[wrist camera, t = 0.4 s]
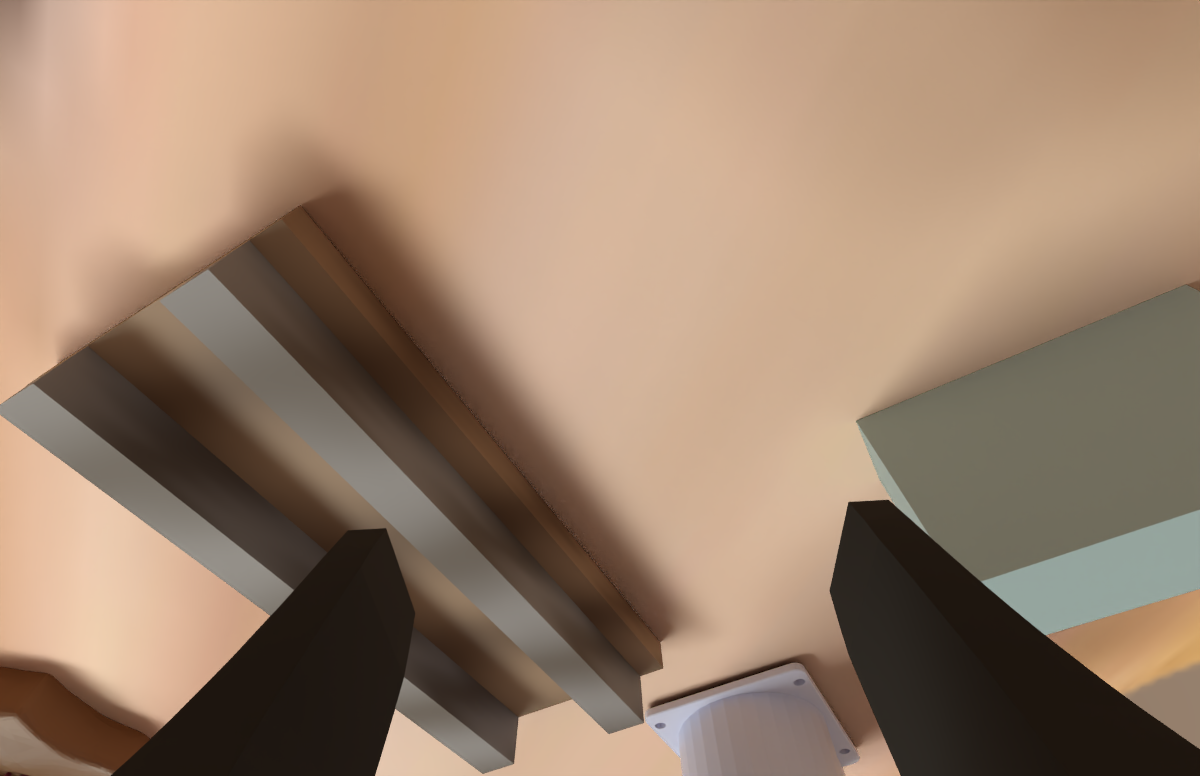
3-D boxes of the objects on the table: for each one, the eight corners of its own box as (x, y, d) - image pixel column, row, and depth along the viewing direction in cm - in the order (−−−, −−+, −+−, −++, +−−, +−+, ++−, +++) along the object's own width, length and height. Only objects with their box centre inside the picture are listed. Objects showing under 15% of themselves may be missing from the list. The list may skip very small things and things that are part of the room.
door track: (660, 643, 27) (668, 715, 24) (473, 708, 29) (462, 780, 27) (300, 205, 16) (243, 246, 14) (55, 365, 19) (-33, 426, 16)
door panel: (1183, 283, 18) (1472, 419, 12) (1186, 359, 20) (1446, 515, 14) (854, 419, 21) (962, 587, 15) (878, 478, 22) (985, 653, 16)
